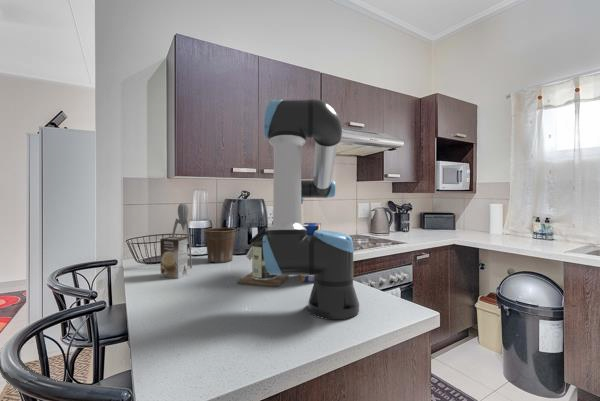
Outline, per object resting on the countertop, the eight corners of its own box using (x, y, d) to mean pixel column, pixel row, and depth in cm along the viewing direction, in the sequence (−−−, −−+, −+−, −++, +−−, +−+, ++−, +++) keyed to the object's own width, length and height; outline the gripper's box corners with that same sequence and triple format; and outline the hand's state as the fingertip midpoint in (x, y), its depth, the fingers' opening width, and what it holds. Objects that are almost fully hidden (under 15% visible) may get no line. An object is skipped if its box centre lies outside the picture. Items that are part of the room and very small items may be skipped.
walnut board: (277, 287, 110) (277, 284, 110) (237, 283, 114) (237, 281, 114) (289, 275, 126) (289, 272, 126) (254, 272, 130) (253, 270, 130)
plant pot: (229, 255, 165) (228, 226, 164) (242, 261, 152) (241, 229, 151) (199, 259, 155) (199, 228, 155) (210, 265, 142) (210, 232, 142)
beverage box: (301, 281, 117) (301, 225, 116) (305, 274, 127) (304, 222, 127) (318, 282, 116) (318, 226, 115) (321, 274, 126) (320, 223, 126)
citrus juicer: (191, 262, 149) (190, 202, 148) (202, 265, 143) (201, 203, 142) (168, 267, 140) (167, 203, 139) (179, 270, 134) (178, 204, 133)
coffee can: (280, 274, 124) (280, 240, 124) (273, 281, 114) (273, 244, 114) (257, 272, 126) (257, 239, 126) (248, 279, 116) (247, 243, 116)
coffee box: (159, 277, 124) (159, 238, 123) (170, 273, 130) (169, 236, 129) (178, 278, 121) (177, 239, 121) (188, 274, 127) (187, 237, 127)
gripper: (311, 226, 125) (290, 269, 113) (265, 223, 139) (242, 261, 127) (304, 214, 121) (281, 258, 109) (257, 212, 135) (233, 251, 123)
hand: (260, 260), depth 118 cm, fingers open, 13 cm apart
